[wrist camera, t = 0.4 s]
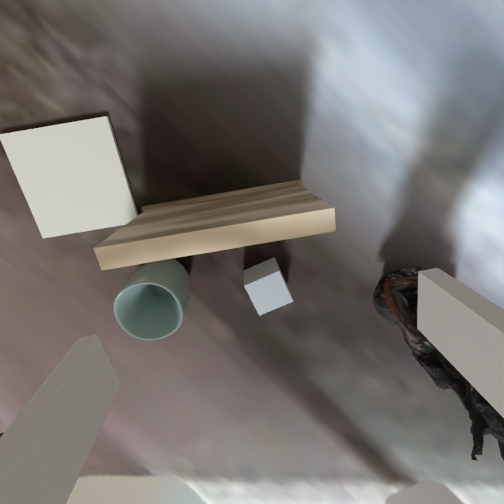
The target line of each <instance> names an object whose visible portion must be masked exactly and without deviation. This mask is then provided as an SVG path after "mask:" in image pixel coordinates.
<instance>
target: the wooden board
mask: <svg viewBox="0 0 504 504" xmlns="http://www.w3.org/2000/svg"><path fill="white" fill-rule="evenodd" d="M142 211H143V212H142V213H141V214H140V215H138V216H137V217H136V218H134V219H133V220H132V221H130V222H129V223H127V224H126V225H125V226H123V227H122V228H121V229H119V230H118V231H116V232H115V233H114V234H112V235H111V236H110V237H108V238H107V239H106V240H104V241H103V242H101V243H100V244H99V245H97V246H96V247H95V248H94V251H95V254H96V256H97V259H98V262H99V264H100V267H101V270H107V269H113V268H119V267H125V266H130V265H136V264H142V263H148V262H154V261H160V260H166V259H172V258H178V257H184V256H190V255H196V254H202V253H208V252H214V251H220V250H226V249H232V248H238V247H243V246H249V245H255V244H261V243H267V242H273V241H279V240H285V239H291V238H297V237H303V236H309V235H315V234H321V233H327V232H333V231H336V226H335V209H334V207H333V206H331V205H329V204H328V203H326V202H325V201H323V200H322V199H320V198H318V197H317V196H315V195H314V194H312V193H311V192H309V191H308V190H306V189H304V188H303V187H301V181H300V180H294V181H289V182H283V183H277V184H271V185H265V186H259V187H253V188H247V189H241V190H235V191H229V192H224V193H218V194H212V195H206V196H200V197H194V198H188V199H182V200H176V201H170V202H165V203H159V204H153V205H147V206H143V207H142Z"/></svg>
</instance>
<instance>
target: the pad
mask: <svg viewBox="0 0 504 504" xmlns="http://www.w3.org/2000/svg"><path fill="white" fill-rule="evenodd" d="M0 140H1V142H2V145H3V147H4V149H5V151H6V154H7V156H8V158H9V161H10V163H11V165H12V168H13V170H14V172H15V175H16V177H17V179H18V182H19V184H20V186H21V189H22V191H23V193H24V195H25V198H26V200H27V202H28V205H29V207H30V209H31V212H32V214H33V216H34V219H35V221H36V223H37V226H38V228H39V230H40V233H41V235H42V237H43V238H48V237H54V236H60V235H66V234H72V233H78V232H84V231H90V230H95V229H101V228H107V227H113V226H119V225H125V224H127V223H129V222H130V221H132V220H133V219H134V218H136V217H137V216H138V212H137V208H136V205H135V202H134V198H133V195H132V192H131V189H130V185H129V182H128V179H127V175H126V172H125V169H124V165H123V162H122V159H121V155H120V152H119V149H118V146H117V142H116V139H115V136H114V132H113V129H112V126H111V122H110V119H109V117H108V116H104V117H99V118H93V119H87V120H81V121H75V122H69V123H64V124H58V125H52V126H46V127H40V128H34V129H29V130H23V131H17V132H11V133H5V134H0Z"/></svg>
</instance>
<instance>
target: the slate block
mask: <svg viewBox="0 0 504 504" xmlns="http://www.w3.org/2000/svg"><path fill="white" fill-rule="evenodd" d="M243 276H244V287H245V289H246V290H247V292H248V294H249V296H250V298H251V300H252V302H253V304H254V306H255V308H256V310H257V312H258V314H259V315H262V314H264V313H267V312H269V311H272V310H274V309H276V308H279V307H281V306H284V305H286V304H288V303H291V302H293V299H292V297H291V294H290V291H289V289H288V286H287V284H286V281H285V279H284V277H283V275H282V272H281V270H280V268H279V266H278V264H277V261H276V259H275V257H274V258H271V259H269V260H267V261H264V262H262V263H260V264H257V265H255V266H253V267H250V268H248V269H246V270H244V271H243Z"/></svg>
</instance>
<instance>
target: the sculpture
mask: <svg viewBox="0 0 504 504" xmlns="http://www.w3.org/2000/svg"><path fill="white" fill-rule="evenodd" d="M423 270H424V269H423V268H404V269H402V270H399V271H396V272H394V273H391V274H388V275H387V276H386V277H385V278H384V279H383V280H382V281H381V282H380V284H379V285H378V287H377V289H376V291H375V296H374V305H375V308H376V309H377V311H378V313H379V314H380V315H382V316H383V317H384V318H385V319H387V320H389V321H390V322H391V323H393V324H395V325H398V326H399V327H400V329H401V330H402V332H403V335H404V339H405V341H406V343H407V344H408V346H409V347H410V349H412V352H413V356H414V357H415V359H416V360H417V361H418V362H419V363H420V365H421V366H422V367H423V368H424V369H425V371H426V372H427V373H428V374H429V375H430V377H431V378H432V380H433V381H434V383H435V384H436V386H437V387H439V388H441V389H443V390H444V389H448V388H450V389H452V390H453V391H454V392H455V393H456V394H457V395H458V397H459V398H460V400H461V402H462V404H463V405H464V407H465V409H466V410H467V411H468V412H469V417H470V419H471V420H472V422H473V423H472V426H471V430H470V431H471V433H472V434H473V442H474V446H473V450H472V454H471V456H472V460H477V459H476V457H475V455H482V448H483V435H487V434H492V435H493V436H494V437H495V438H496V439H498V444H499V448H500V452H501V456H502V458H503V460H504V418H503V417H502V416H501V415H500V414H499V413H498V412H497V411H496V410H495V409H494V408H493V407H492V406H491V404H490V403H489V402H488V401H487V400H486V399H485V398H484V397H483V396H482V395H481V394H480V393H479V392H478V391H477V390H476V389H475V388H474V387H473V386H472V385H471V384H470V383H469V382H468V381H467V380H466V378H465V377H464V376H463V375H462V374H461V373H460V372H459V371H458V370H457V369H456V368H455V367H454V366H453V365H452V364H451V363H450V362H449V361H448V360H447V359H446V358H445V357H444V356H443V355H442V354H441V353H440V351H439V350H438V349H437V348H436V347H435V346H434V345H433V344H432V343H431V342H430V341H429V340H428V339H427V338H426V337H425V336H424V335H423V334H422V333H421V332H420V331H419V330H418V329H417V311H418V271H423Z"/></svg>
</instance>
